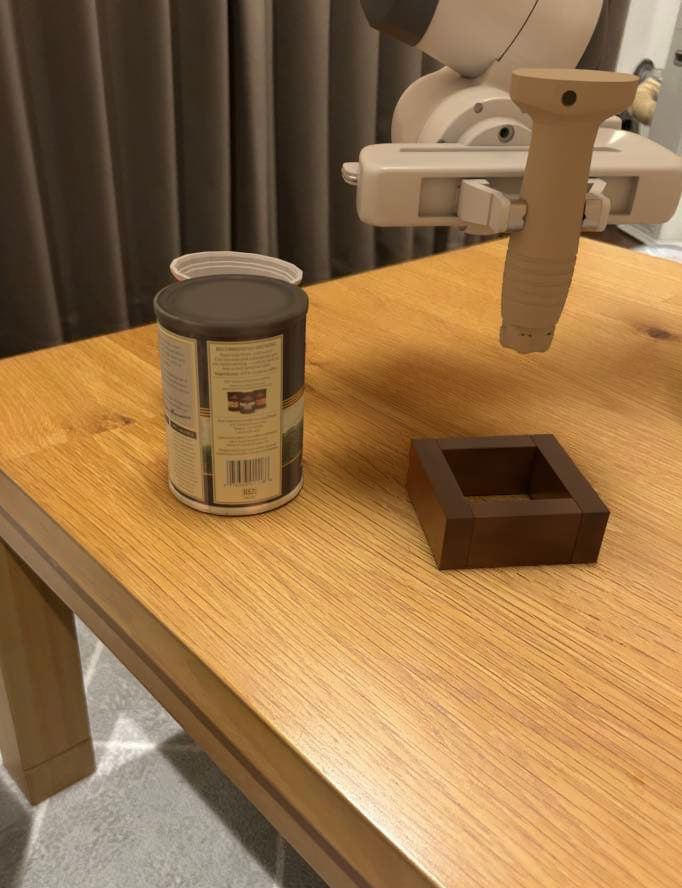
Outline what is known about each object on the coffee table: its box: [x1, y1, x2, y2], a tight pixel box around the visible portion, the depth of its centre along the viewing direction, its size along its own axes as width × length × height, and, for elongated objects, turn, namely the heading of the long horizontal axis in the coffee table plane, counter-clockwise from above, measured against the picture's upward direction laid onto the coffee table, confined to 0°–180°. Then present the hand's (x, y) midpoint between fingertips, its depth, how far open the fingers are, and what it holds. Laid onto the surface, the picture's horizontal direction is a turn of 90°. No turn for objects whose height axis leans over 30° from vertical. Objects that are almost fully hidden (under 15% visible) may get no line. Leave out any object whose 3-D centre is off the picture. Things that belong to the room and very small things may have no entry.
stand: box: [405, 433, 611, 570], centre depth 60 cm, size 11×11×4 cm
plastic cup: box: [169, 250, 303, 286], centre depth 73 cm, size 11×11×12 cm
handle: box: [498, 68, 640, 355], centre depth 50 cm, size 5×6×15 cm
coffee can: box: [153, 274, 310, 517], centre depth 61 cm, size 10×10×14 cm
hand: (555, 217), depth 49 cm, fingers closed on handle, 3 cm apart
